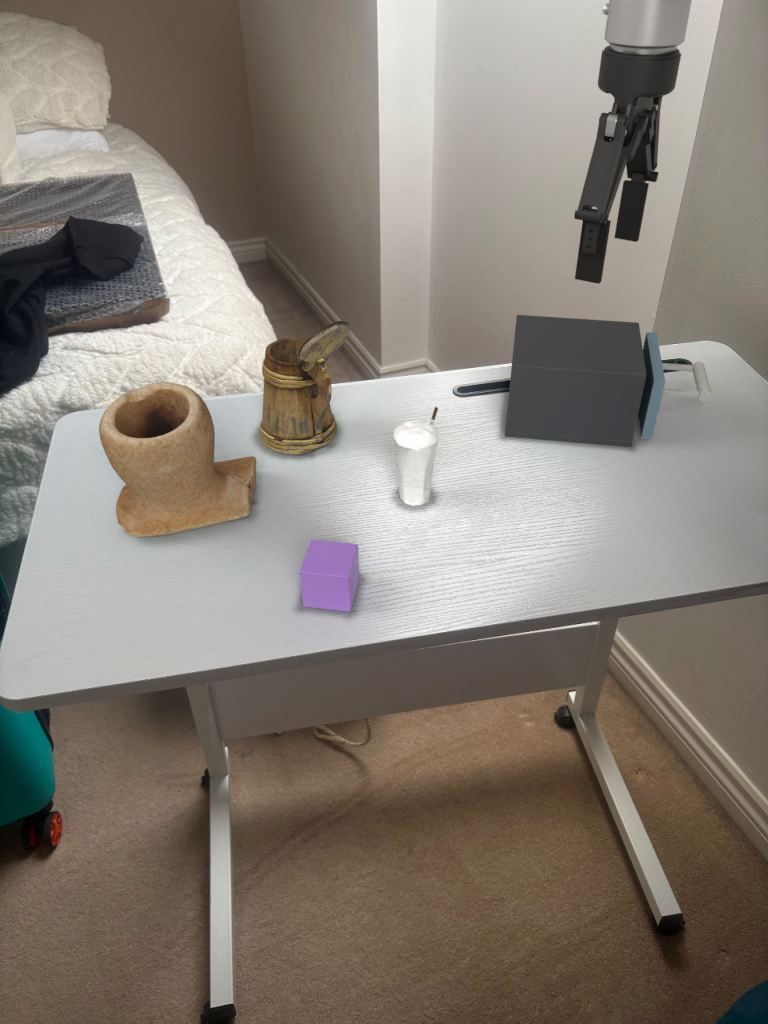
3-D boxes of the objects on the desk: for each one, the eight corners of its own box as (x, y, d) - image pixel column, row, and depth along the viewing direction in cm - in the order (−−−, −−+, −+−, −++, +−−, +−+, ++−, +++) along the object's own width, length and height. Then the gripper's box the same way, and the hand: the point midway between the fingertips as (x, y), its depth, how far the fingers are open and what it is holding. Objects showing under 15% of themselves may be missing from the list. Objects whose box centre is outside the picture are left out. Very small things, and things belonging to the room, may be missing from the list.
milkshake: (449, 493, 90) (453, 415, 84) (415, 515, 87) (416, 436, 81) (419, 475, 93) (421, 398, 86) (385, 496, 90) (384, 418, 83)
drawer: (692, 392, 104) (707, 336, 99) (704, 444, 95) (721, 385, 90) (536, 380, 106) (543, 325, 101) (533, 429, 98) (541, 371, 93)
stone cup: (119, 564, 82) (82, 438, 72) (119, 492, 91) (86, 372, 81) (271, 539, 84) (256, 414, 75) (257, 471, 93) (241, 352, 84)
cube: (359, 578, 80) (358, 543, 77) (350, 612, 76) (348, 577, 74) (314, 573, 80) (311, 539, 78) (303, 606, 77) (299, 571, 74)
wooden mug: (311, 484, 92) (299, 336, 80) (246, 431, 100) (227, 290, 88) (374, 454, 96) (371, 309, 84) (307, 405, 104) (296, 268, 93)
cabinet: (624, 391, 106) (638, 322, 100) (630, 447, 96) (646, 374, 90) (510, 382, 108) (516, 314, 102) (504, 436, 98) (511, 365, 92)
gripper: (641, 24, 90) (610, 218, 104) (559, 66, 74) (535, 292, 87) (712, 29, 87) (671, 229, 101) (643, 74, 71) (604, 307, 84)
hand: (608, 259), depth 94 cm, fingers open, 13 cm apart
